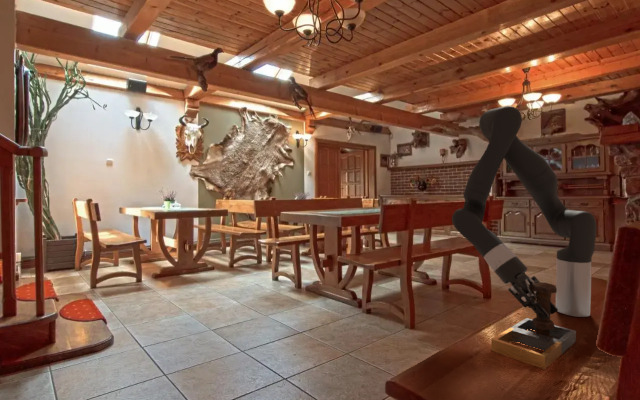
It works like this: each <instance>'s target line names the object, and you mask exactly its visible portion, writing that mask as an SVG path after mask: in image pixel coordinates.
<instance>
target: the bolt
mask: <svg viewBox="0 0 640 400" xmlns="http://www.w3.org/2000/svg"><path fill="white" fill-rule="evenodd" d="M531 288H532V289H533V290H534V291H535V292H536V296H537V299H536V300H537V302H538V303H539V304H540V305H541V306H542V307H543V308H544V310H545V311H546V312H547V313H548V314H549V317H547V318H546V319H544V320H541V319H540V318H539V316H538V315H537V314H536V313H535V315H536V316H535V317H534V318H532V319H533V320H532V323H533V325H534V326H535V327H536V332H535V333H538V334H541V335H545V336H548V337H551V336H550V330H552V329H553V328H554V325H555V323H554V321H553V320H552V319H551V314H550V304H551V302H552V301H551V299H552V294H556V293H557V288H556V285H554V284H552V283H547V282H540V283H533V284H531Z"/></svg>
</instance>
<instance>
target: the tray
mask: <svg viewBox="0 0 640 400" xmlns="http://www.w3.org/2000/svg"><path fill="white" fill-rule="evenodd" d="M533 319H534V318H528V317H526V318H524V319H522V320H521V321H519V322H518V323H515V324H514V325H513V326H511V327H509V328H508V329H506V330H504V331H502V332H501V333H499V334H497V335H495V337H493V338H491V339H490V341H491V345H490V346H491V347H490V350H491V351H492V352H493V353H497V354H500V355H502V356H505V357H507V358H510V359H513V360H516V361H519V362H522V363H525V364H527V365H530V366H534V367H535V368H539V369H542V370H546V369H547V368H548V367H550V365H552V364H553V363H554V362H555V361H556V360H557V359H558V358H559V357H561V355H563V354H564V353H565V352H566V351H567V350H568V349H570V348H571V347H572V346H573V345H574V344H575V343H576V339H577V337H576V336H577V331H576V329H575V330H574V329H570V328H566V327H562V326H558V325H555V324H554V328H553V329H552V330H550V337H548V336H545V335H541V334H538V333H536V332H534V331H531V330H528V331H527V329H532V330H535V331H536V327H535V326H534V325H533V323H532V320H533ZM512 341H514V342H513V343H515V342H520V343H522V344H525V345H528V346H531V347H535V348H538V349H541V350H544V352H543V351H542V353H540V352H537V351H534V350H531V349H529V348H525V347H522V346H519V345H516V344H513V343H511V342H512ZM525 345H524V346H525ZM528 346H527V347H528ZM531 347H530V348H531Z"/></svg>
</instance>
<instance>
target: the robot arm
mask: <svg viewBox="0 0 640 400" xmlns="http://www.w3.org/2000/svg"><path fill="white" fill-rule="evenodd" d="M522 119H523V117H522V114H521V112H520V110H519V109H518V108H516V107H514V106H511V105H505V106H499V107H497V108H496V107H495V108H492V109H489V110H486V111H485V112H483V113H482V114H481V116H480V118H479V123H478V125H479V126H478V127H479V130H480V132H481V134H482V135H483V136H484V138H486V139H487V141H488V145H487V146H486V147H485V151H483V154H482V156H481V157H480V158H479V160H478V161H477V163H476V164H475V166H474V167H473V168H472V171H471V173H470V175H469V177H468V178H467V183H466V185H465V187H464V191H463V199H464V204H463V206H462V207H463V208H458V209H456V210H455V211H454V212H453V214H452V217H451V222H452V225H453V227H454V228H455V229H456V231H457V232H458V233H459V234H460V235H461V236H462V237H464V238H465V239H466V240H467V241H468V242H469V243H470V244H471V245H472V246H473V247H474V248H475V249H476V251H477V252H478V253H479V254H480V256H482V258H483V259H484V260H485V262H486V264H487V265H488V266H489V268H490V269H491V270H492V271H493V273H495V274H496V276H498V278H499V279H500V280H501V281H502V283H504V284H505V285H507V284H511V286H510V287H509V288H508V291H509V293H510V294H512V296H513V297H514V298H515V299H516V300H517V301H518V302H519V303H520V304H521V305H522V306H523V307H524V308H527V307H528V308H529V309H531V310H533V312H534V313H535V315H536V314H537V315H538V316H539V318H540V319H541V320H544V319H546V318H547V317H549V314H548V313H547V312H546V311H545V310H544V308H543V307H542V306H541V305H540V304H539V303H538V302H537V296H536V292H535V291H534V290H533V289H532V288H531V284H533V283H541V282H540V280H539V279H538V278H537V277H536V276H535V275H533V276H531V277H530V276H529V275H527V273H526V272H527V271H528V267H527V266H526V264H524V262H523V261H522V260H521V259H520V258H519V257H518V256H517V255H516V253H514V252H513V250H512V249H510V248H509V247H508V246H507V245H506V244H505V243H504V242H503V240H501V239H500V238H499V237H498V236H497V235H496V233H495V232H494V231H492V230H490V229H488V228H487V227H486V226H485V225H484V224H483V221H484V218H485V211H486V206H487V205H486V204H487V201H488V198H489V196H490V192H491V190H492V187H493V184H494V181H495V178H496V176H497V174H498V171H499V168H500V166H501V165H502V163H503V161H504V160H505V162H506V163H507V165H508V167H510V169H511V170H512V172H513V173H514V174H515V176H516V177H517V179H518V180H519V181H520V183H521V185H522V186H523V187H524V188H525V190H526V191H527V192H528V194H529V195H530V196H531V198H532V199H533V201H534V202H535V203H536V205H537V206H538V207H539V209H540V211H541V212H542V214H543V215H544V218H545V219H546V222H547V223H548V226H550V228H551V230H552V232H553V233H555V234H556V235H557V236H559V237H560V238H561V237H562V238H565V239H569V240H568V245H567V246H566V247H564V248H559V249H557V250H556V265H555V266H556V273H555V277H556V278H555V280H556V281H555V287H556V288H557V293H555V304H554V302H553V301H551V304H550V315H553V314H555V313H556V312H558V313H560V314H563V315H567V316H571V317H579V318H587V317H590V316H591V300H592V257H593V255H594V253H595V247H596V237H597V221H596V219H595V216H594V215H593V214H592V213H591V212H589V211H584V210H573V209H571V210H570V209H568V208H567V207H566V206H565V205H564V203H563V202H562V200H561V199H560V197H559V195H558V185H559V184H558V177H557V174H556V173H555V171H554V170H553V169H552V167H551V166H550V164H549V163H548V161H546V159H545V158H544V157H543V156H542V155H540V154H539V153H538V152H536V151H535V150H534V149H532V148H531V147H529V146H528V145H526V143H524V142H523V141H522V140H521V139H520V138H519V136H517V135H518V133H519V130H520V129H521V126H522V122H523V120H522Z"/></svg>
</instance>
